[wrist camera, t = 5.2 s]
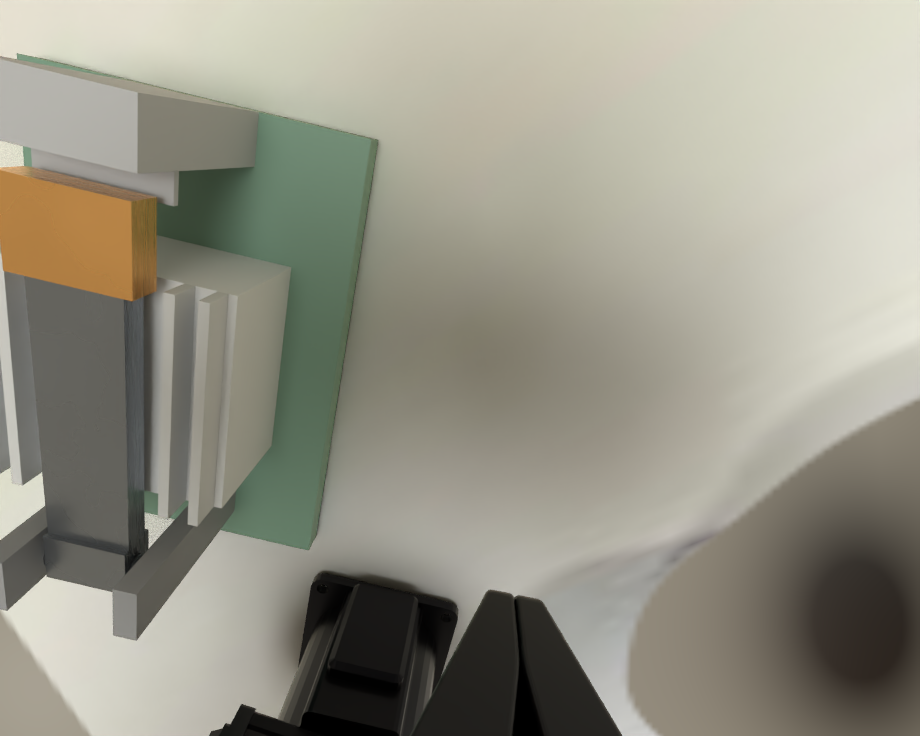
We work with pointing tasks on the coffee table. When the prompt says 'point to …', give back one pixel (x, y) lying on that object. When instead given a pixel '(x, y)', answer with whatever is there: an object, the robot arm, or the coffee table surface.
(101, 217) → the orange tipped gray lever
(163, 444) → the heatsink board
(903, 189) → the coffee table surface
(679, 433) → the coffee table surface
